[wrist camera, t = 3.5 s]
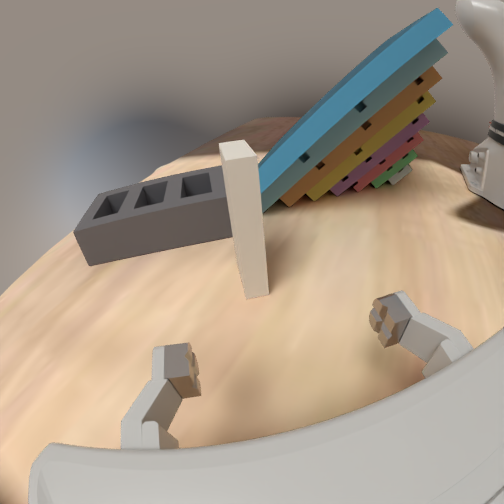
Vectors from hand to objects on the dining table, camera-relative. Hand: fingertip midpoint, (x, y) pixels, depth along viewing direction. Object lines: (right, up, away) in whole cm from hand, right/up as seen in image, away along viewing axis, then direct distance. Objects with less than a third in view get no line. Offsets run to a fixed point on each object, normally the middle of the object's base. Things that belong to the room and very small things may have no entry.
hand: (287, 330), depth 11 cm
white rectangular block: (-1, +1, +14) cm, 15 cm away
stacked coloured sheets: (+12, +16, +33) cm, 39 cm away
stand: (-13, +6, +24) cm, 28 cm away
